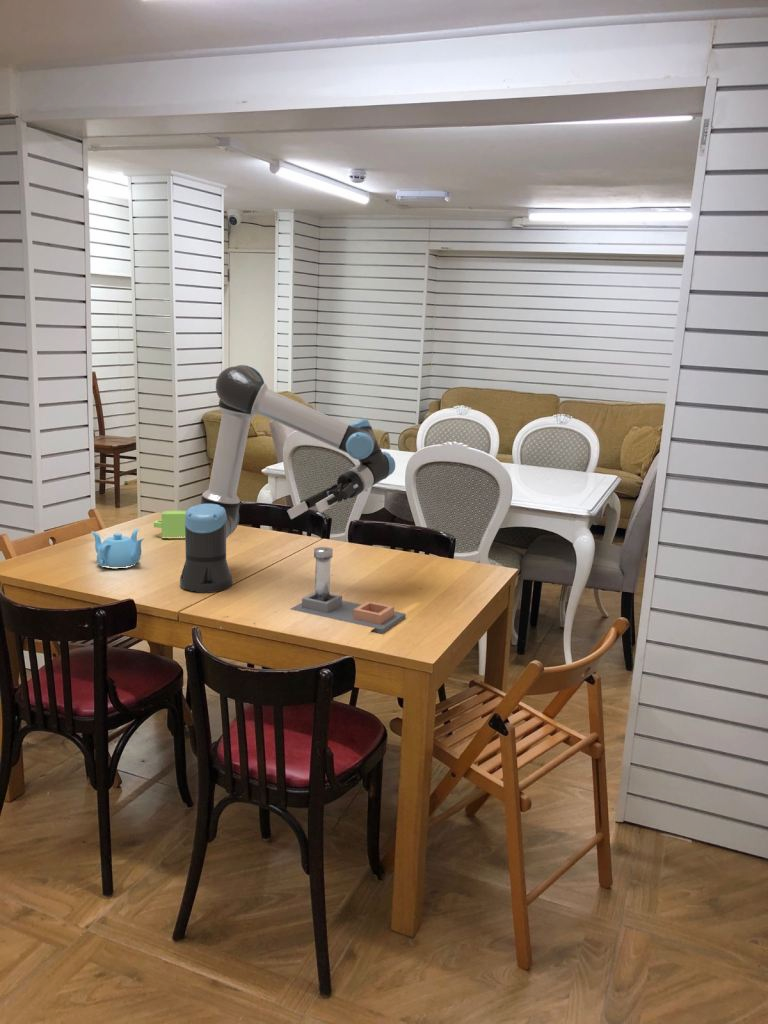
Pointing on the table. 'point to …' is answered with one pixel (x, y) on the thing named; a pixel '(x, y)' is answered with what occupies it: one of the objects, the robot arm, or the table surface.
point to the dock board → (352, 612)
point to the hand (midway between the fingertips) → (303, 511)
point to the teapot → (118, 550)
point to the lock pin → (322, 573)
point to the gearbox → (172, 523)
